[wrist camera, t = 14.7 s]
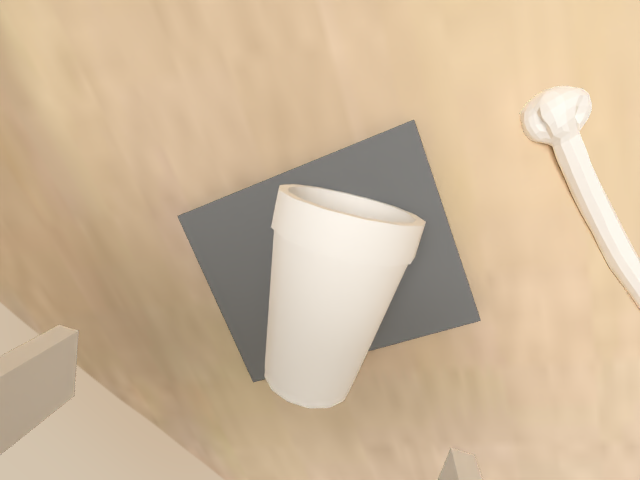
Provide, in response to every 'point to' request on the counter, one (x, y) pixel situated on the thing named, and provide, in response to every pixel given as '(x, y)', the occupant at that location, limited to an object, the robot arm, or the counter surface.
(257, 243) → the mat
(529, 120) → the white long knobbed rod
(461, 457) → the robot arm
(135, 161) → the counter surface
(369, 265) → the foam cup
